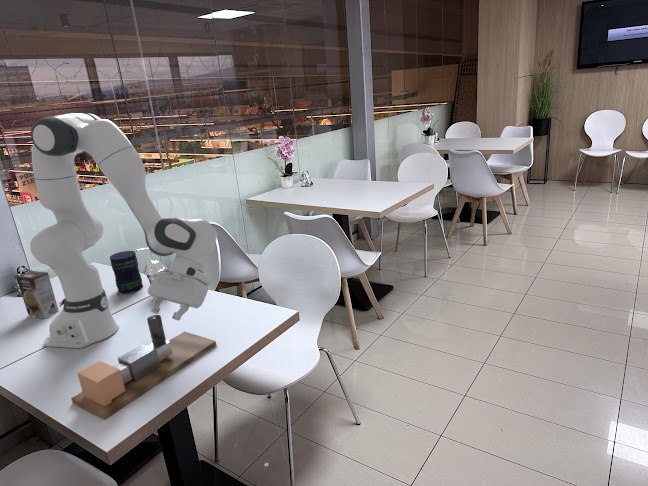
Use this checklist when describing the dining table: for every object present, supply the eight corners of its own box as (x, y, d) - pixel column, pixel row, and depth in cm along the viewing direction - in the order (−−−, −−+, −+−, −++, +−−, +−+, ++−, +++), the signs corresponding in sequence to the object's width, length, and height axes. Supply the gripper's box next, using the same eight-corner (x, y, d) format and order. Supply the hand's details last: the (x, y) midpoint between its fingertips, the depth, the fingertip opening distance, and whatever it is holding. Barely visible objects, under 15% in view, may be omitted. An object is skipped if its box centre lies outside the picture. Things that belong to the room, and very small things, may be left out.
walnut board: (185, 335, 146) (184, 331, 146) (216, 345, 139) (215, 340, 138) (72, 403, 117) (71, 398, 117) (104, 419, 110) (102, 414, 109)
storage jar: (147, 287, 189) (140, 253, 184) (124, 296, 182) (116, 260, 178) (136, 282, 195) (128, 249, 191) (113, 290, 189) (105, 256, 184)
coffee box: (27, 316, 172) (14, 276, 167) (43, 308, 177) (31, 270, 172) (44, 319, 168) (32, 278, 163) (60, 311, 174) (48, 271, 169)
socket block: (105, 383, 122) (99, 360, 120) (126, 392, 117) (119, 369, 115) (84, 396, 117) (77, 372, 115) (104, 406, 112) (97, 382, 110)
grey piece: (163, 350, 134) (155, 313, 130) (172, 353, 132) (164, 316, 128) (96, 391, 117) (84, 349, 114) (105, 395, 115) (94, 353, 111)
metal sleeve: (147, 361, 130) (143, 343, 129) (160, 366, 127) (156, 348, 125) (122, 377, 124) (117, 358, 122) (135, 382, 121) (130, 363, 119)
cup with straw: (171, 295, 178) (160, 247, 172) (146, 300, 176) (135, 251, 170) (171, 287, 186) (161, 240, 180) (148, 292, 184) (137, 244, 178)
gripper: (155, 263, 138) (133, 305, 134) (202, 272, 127) (180, 319, 123) (169, 271, 143) (149, 313, 138) (216, 281, 132) (196, 327, 127)
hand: (164, 316), depth 130 cm, fingers open, 8 cm apart
